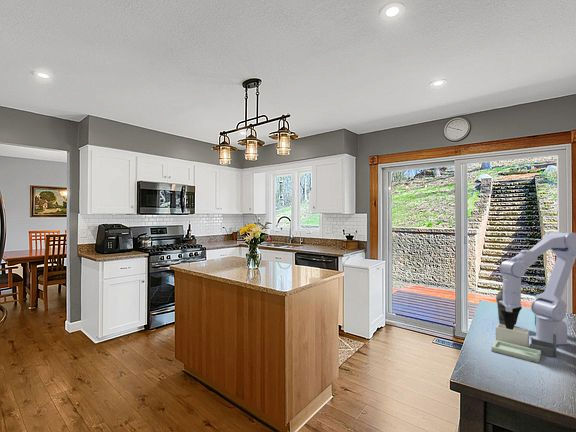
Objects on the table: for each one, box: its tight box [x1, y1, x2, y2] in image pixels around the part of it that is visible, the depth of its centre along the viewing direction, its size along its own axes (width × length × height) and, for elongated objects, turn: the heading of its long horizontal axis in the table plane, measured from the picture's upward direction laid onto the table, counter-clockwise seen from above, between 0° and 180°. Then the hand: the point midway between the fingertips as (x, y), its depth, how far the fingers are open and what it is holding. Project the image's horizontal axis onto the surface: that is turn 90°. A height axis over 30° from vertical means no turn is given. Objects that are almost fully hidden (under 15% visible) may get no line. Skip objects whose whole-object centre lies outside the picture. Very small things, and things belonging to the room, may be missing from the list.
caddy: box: [495, 323, 530, 348], centre depth 121 cm, size 10×5×6 cm, turn 48°
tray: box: [491, 339, 542, 364], centre depth 112 cm, size 14×9×2 cm, turn 48°
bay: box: [529, 328, 557, 358], centre depth 114 cm, size 7×8×8 cm
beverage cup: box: [495, 290, 506, 325], centre depth 142 cm, size 7×7×20 cm
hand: (511, 326), depth 121 cm, fingers open, 7 cm apart
